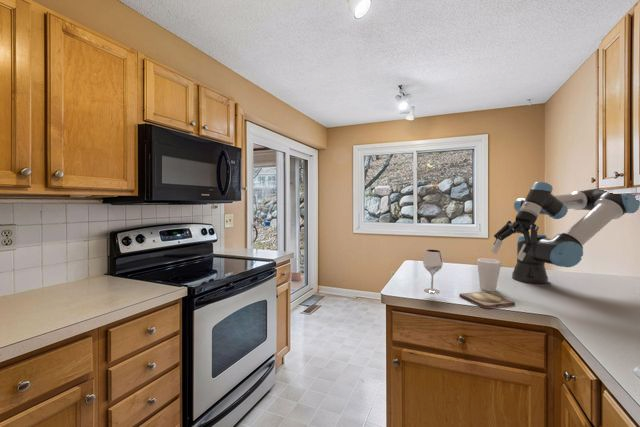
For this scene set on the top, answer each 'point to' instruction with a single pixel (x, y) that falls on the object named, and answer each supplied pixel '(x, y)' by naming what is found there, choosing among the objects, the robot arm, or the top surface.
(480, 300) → the stand board
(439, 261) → the wineglass
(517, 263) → the robot arm
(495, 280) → the foam cup
